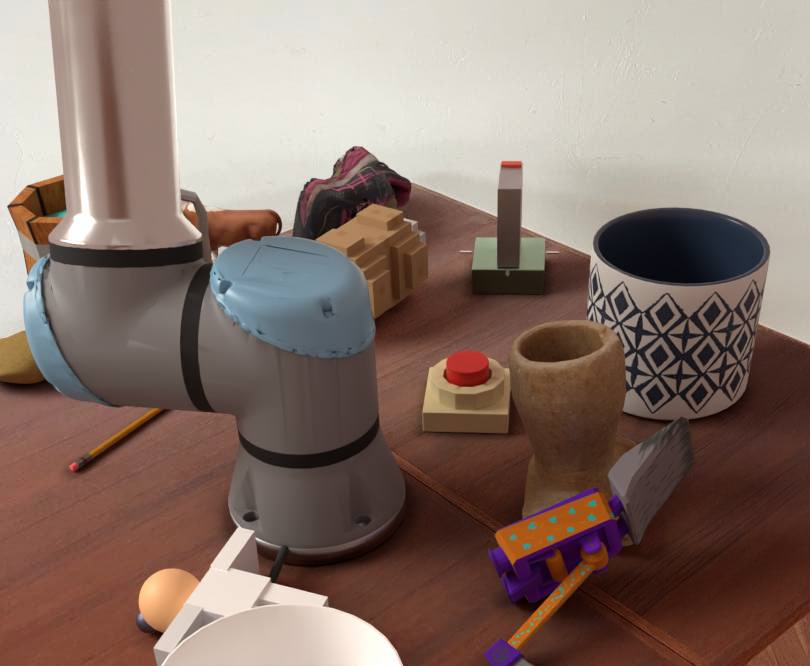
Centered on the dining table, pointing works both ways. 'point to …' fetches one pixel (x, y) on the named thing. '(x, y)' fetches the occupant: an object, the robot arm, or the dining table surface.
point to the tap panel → (508, 268)
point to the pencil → (113, 439)
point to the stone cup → (569, 408)
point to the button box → (467, 402)
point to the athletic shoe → (348, 193)
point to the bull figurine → (234, 225)
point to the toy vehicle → (585, 532)
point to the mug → (47, 207)
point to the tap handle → (509, 213)
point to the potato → (18, 360)
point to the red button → (467, 369)
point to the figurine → (210, 594)
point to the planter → (680, 306)
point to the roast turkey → (383, 253)
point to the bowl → (286, 640)
